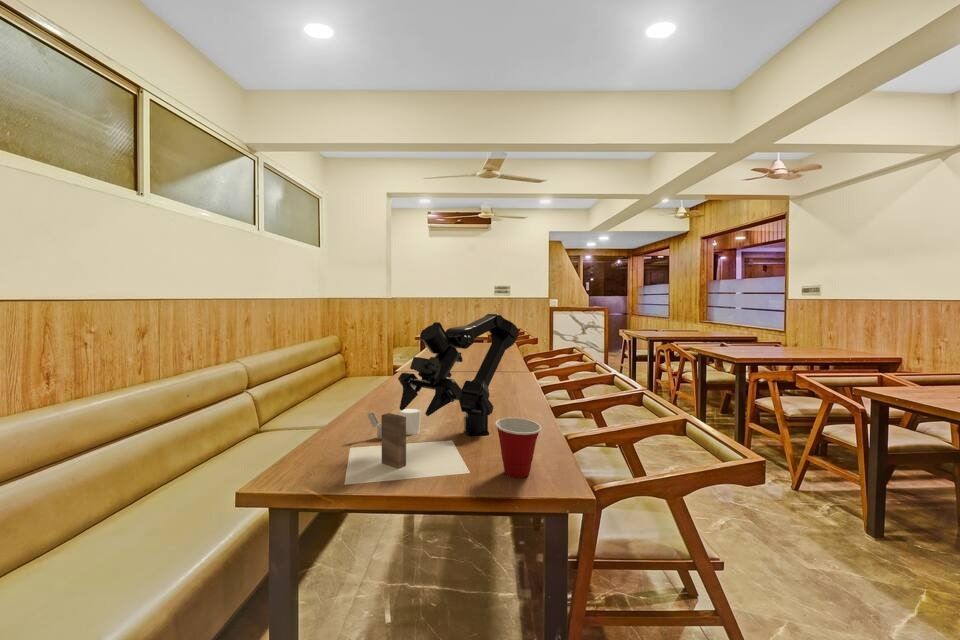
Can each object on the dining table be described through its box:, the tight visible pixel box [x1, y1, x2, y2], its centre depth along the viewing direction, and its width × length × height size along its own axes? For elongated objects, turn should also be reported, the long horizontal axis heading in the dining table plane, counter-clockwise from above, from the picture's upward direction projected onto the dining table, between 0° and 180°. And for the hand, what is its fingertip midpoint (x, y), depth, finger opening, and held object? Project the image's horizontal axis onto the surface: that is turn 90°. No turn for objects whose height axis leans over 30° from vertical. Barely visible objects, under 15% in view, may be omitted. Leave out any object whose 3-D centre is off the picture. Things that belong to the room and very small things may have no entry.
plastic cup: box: [495, 417, 543, 479], centre depth 100 cm, size 11×11×12 cm
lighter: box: [367, 411, 382, 440], centre depth 125 cm, size 7×2×8 cm, turn 85°
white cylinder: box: [398, 407, 422, 436], centre depth 131 cm, size 7×7×7 cm
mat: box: [344, 440, 471, 485], centre depth 108 cm, size 28×24×1 cm
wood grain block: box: [381, 412, 407, 469], centre depth 105 cm, size 3×6×12 cm, turn 54°
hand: (413, 412), depth 110 cm, fingers open, 9 cm apart
